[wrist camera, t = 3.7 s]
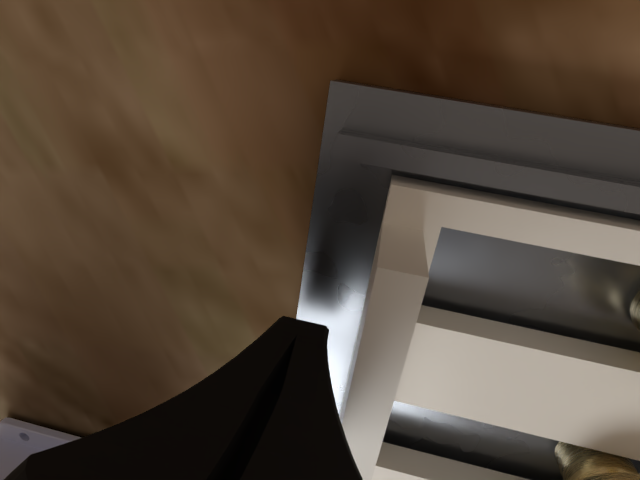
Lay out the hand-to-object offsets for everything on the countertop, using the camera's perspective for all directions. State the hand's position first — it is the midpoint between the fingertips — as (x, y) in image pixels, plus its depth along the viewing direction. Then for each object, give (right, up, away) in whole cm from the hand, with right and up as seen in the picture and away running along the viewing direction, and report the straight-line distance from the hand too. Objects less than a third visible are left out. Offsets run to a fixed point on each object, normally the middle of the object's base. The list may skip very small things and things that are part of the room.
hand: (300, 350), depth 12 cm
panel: (+7, -1, +1) cm, 7 cm away
